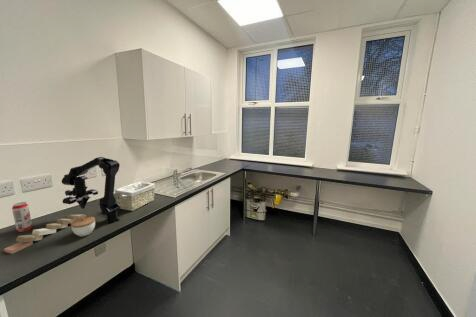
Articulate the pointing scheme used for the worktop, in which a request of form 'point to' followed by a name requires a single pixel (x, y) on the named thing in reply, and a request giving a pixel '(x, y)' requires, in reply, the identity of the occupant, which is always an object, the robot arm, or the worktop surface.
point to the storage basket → (135, 195)
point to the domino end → (17, 247)
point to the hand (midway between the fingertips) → (83, 208)
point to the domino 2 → (43, 231)
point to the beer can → (22, 216)
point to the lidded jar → (83, 226)
